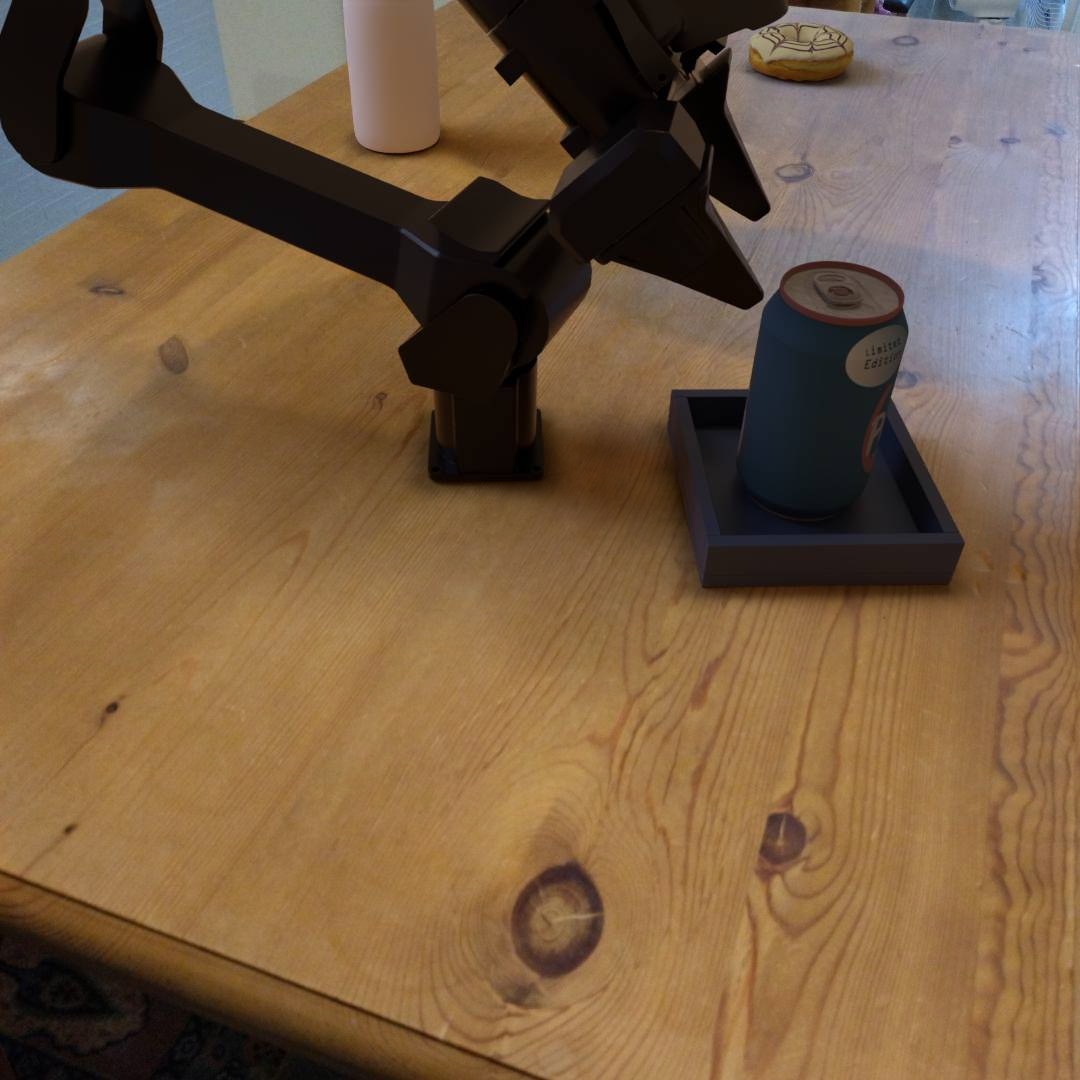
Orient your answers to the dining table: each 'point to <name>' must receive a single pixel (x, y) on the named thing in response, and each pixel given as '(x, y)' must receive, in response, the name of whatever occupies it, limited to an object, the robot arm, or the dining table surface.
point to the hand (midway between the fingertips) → (759, 256)
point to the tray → (806, 546)
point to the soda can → (820, 388)
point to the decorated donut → (800, 51)
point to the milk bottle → (393, 73)
